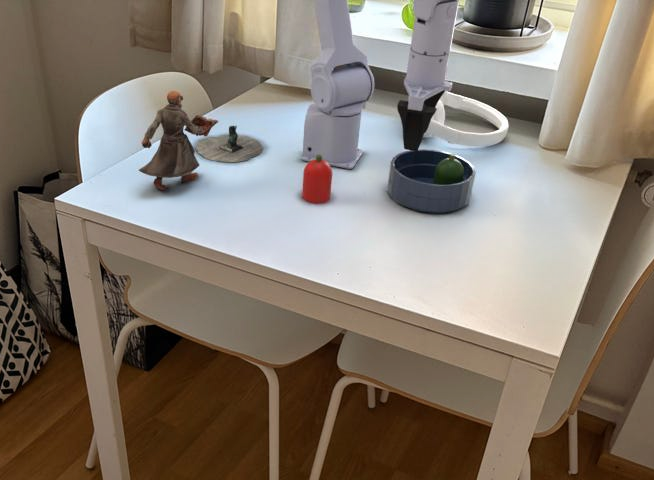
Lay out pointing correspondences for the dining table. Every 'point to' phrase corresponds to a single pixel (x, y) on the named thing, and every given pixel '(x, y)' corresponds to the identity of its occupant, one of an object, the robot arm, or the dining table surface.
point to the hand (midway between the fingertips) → (415, 140)
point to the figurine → (174, 142)
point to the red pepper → (317, 181)
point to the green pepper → (448, 171)
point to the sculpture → (229, 147)
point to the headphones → (466, 138)
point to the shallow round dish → (427, 182)
